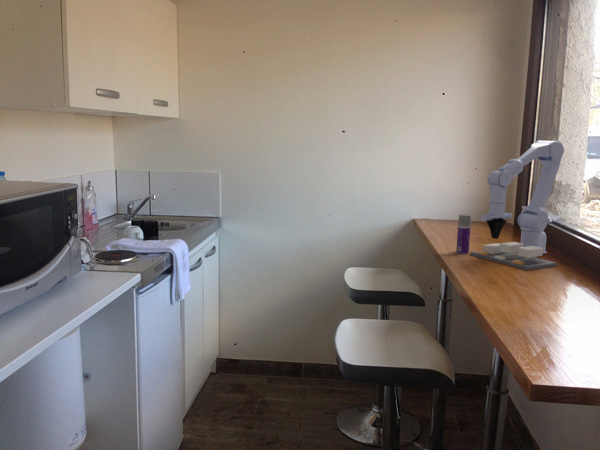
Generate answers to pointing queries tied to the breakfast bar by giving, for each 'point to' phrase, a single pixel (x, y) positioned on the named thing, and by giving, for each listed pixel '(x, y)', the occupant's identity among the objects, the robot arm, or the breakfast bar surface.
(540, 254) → the button
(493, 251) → the button
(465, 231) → the container
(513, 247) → the button
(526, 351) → the breakfast bar surface
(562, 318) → the breakfast bar surface
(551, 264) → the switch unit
